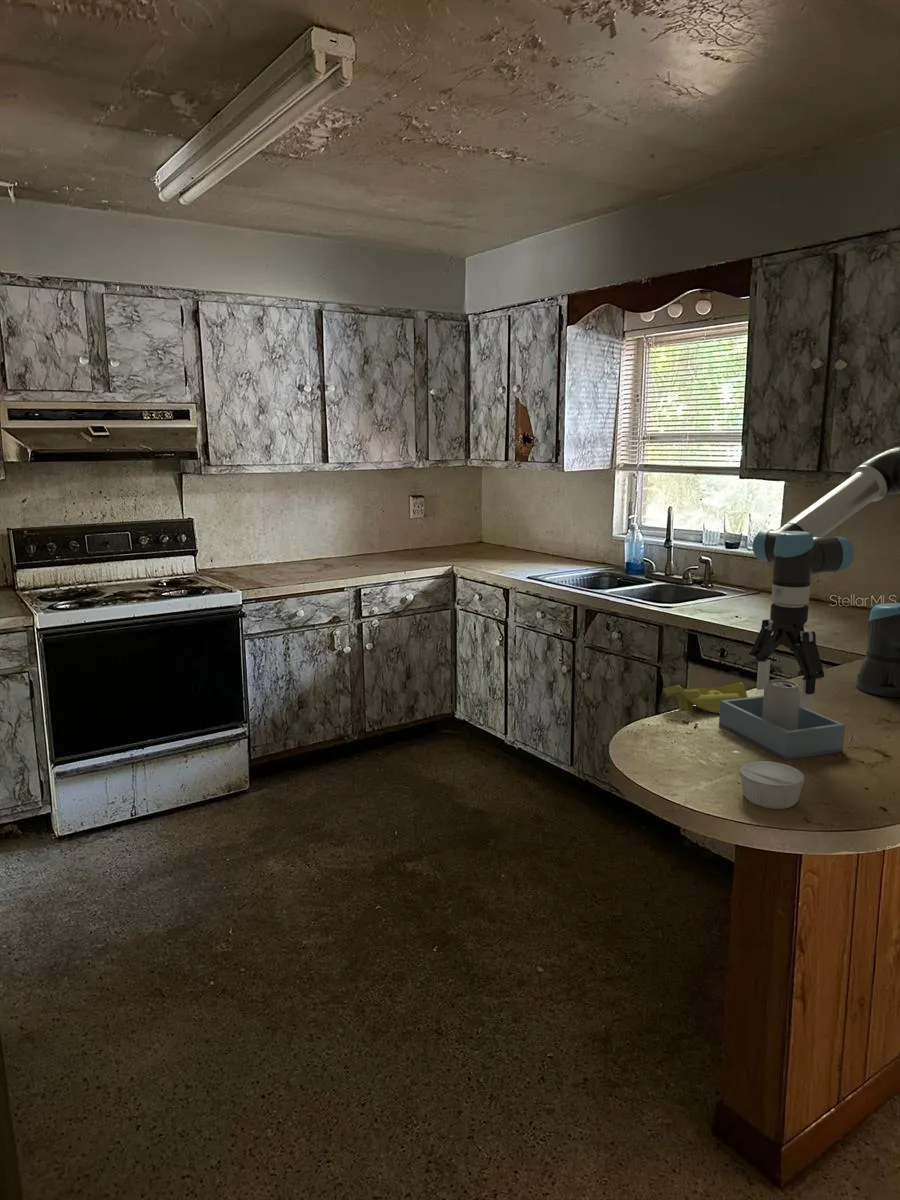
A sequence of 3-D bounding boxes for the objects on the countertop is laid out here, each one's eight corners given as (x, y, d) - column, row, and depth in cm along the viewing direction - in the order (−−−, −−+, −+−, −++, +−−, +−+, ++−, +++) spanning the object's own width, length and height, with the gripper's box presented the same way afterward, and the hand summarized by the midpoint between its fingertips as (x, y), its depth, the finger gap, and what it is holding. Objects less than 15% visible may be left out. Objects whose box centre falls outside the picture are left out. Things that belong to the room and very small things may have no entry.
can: (804, 738, 184) (809, 686, 181) (775, 742, 182) (779, 689, 179) (781, 727, 191) (786, 676, 188) (753, 730, 189) (757, 679, 186)
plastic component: (719, 687, 215) (746, 680, 206) (724, 716, 214) (751, 710, 205) (655, 690, 208) (680, 683, 199) (660, 720, 206) (685, 714, 197)
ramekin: (742, 809, 152) (744, 782, 150) (734, 784, 162) (736, 758, 161) (808, 815, 149) (810, 787, 148) (795, 789, 160) (797, 763, 159)
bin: (771, 718, 199) (774, 694, 198) (842, 751, 179) (845, 724, 177) (718, 725, 194) (720, 700, 193) (785, 760, 174) (787, 732, 172)
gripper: (737, 594, 191) (732, 683, 195) (818, 617, 167) (810, 718, 172) (764, 591, 193) (759, 679, 197) (848, 614, 170) (839, 713, 174)
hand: (783, 697), depth 185 cm, fingers open, 13 cm apart
